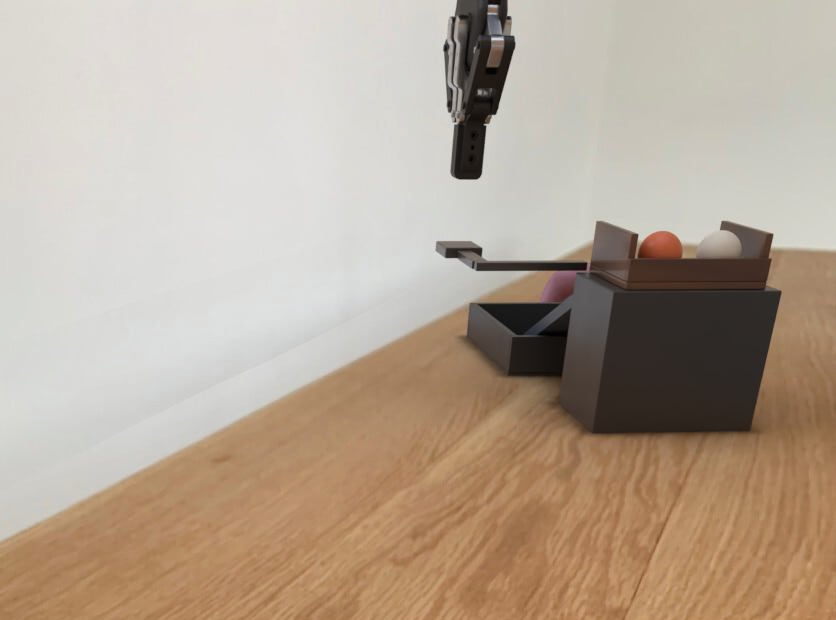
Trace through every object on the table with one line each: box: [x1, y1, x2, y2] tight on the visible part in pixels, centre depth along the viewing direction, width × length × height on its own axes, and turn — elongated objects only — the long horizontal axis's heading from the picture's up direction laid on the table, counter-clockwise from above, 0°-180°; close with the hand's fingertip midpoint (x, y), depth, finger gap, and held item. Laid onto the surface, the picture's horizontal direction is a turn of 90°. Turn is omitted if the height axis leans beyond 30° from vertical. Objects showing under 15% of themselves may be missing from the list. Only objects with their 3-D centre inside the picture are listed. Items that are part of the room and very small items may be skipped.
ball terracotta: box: [636, 230, 684, 258], centre depth 77 cm, size 3×3×3 cm
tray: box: [466, 301, 568, 377], centre depth 103 cm, size 16×15×4 cm
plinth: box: [558, 272, 783, 435], centre depth 82 cm, size 8×12×10 cm
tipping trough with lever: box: [435, 220, 774, 290], centre depth 83 cm, size 19×20×4 cm
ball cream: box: [695, 229, 742, 258], centre depth 78 cm, size 3×3×3 cm
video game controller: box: [538, 262, 591, 302], centre depth 117 cm, size 10×5×7 cm, turn 65°
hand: (465, 178), depth 87 cm, fingers closed
